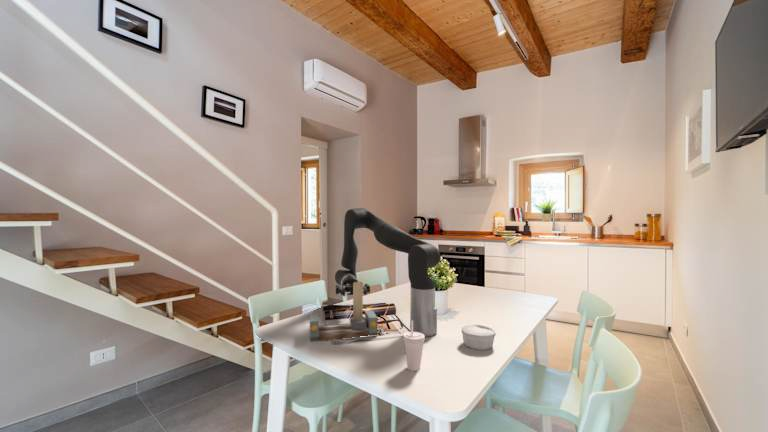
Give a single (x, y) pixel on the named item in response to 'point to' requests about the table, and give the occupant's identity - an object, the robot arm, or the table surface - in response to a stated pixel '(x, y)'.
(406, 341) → the smoothie
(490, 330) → the ramekin
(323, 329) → the rail bed
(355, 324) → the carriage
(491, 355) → the table surface
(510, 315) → the table surface
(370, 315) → the pair of sage blocks
